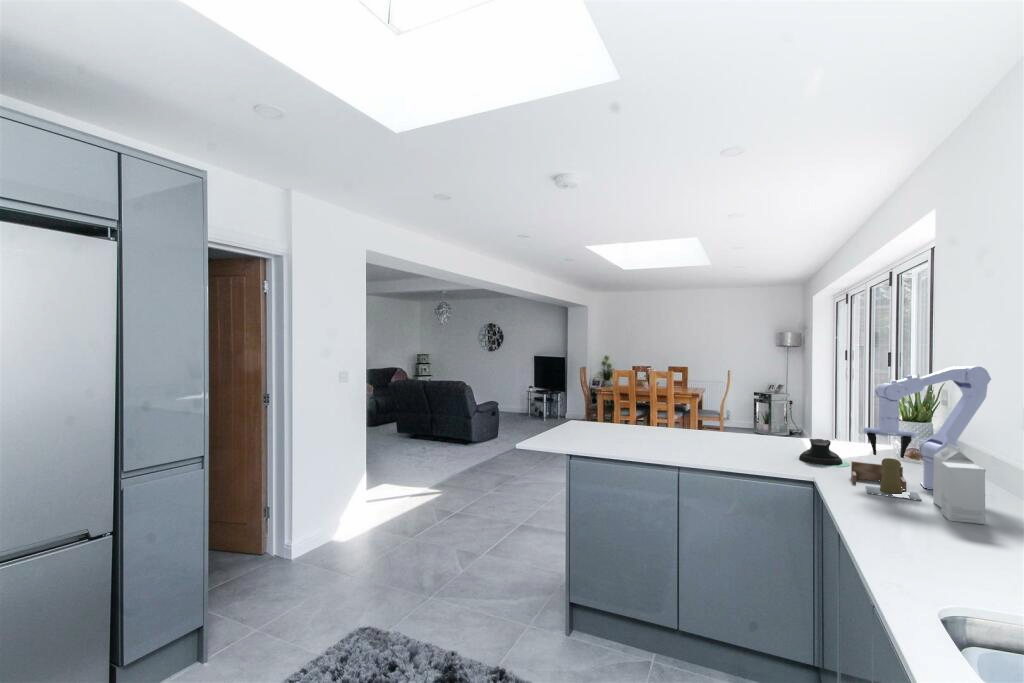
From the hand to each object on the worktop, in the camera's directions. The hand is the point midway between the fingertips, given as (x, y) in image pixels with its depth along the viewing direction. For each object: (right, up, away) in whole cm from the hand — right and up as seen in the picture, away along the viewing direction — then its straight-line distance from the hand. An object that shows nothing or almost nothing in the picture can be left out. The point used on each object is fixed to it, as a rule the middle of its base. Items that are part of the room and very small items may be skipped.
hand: (888, 456), depth 174 cm
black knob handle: (-2, -11, +35) cm, 37 cm away
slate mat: (-6, -10, -10) cm, 15 cm away
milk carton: (+2, -11, -23) cm, 25 cm away
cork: (-6, -10, -9) cm, 15 cm away
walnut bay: (-2, -10, +2) cm, 11 cm away
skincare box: (-4, -11, -33) cm, 35 cm away
